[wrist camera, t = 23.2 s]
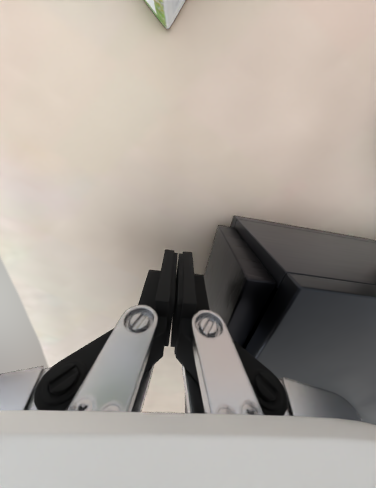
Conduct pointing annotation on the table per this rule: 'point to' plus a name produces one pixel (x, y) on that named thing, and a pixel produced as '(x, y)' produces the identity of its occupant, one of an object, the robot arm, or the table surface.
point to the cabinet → (318, 309)
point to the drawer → (237, 285)
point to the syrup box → (165, 10)
